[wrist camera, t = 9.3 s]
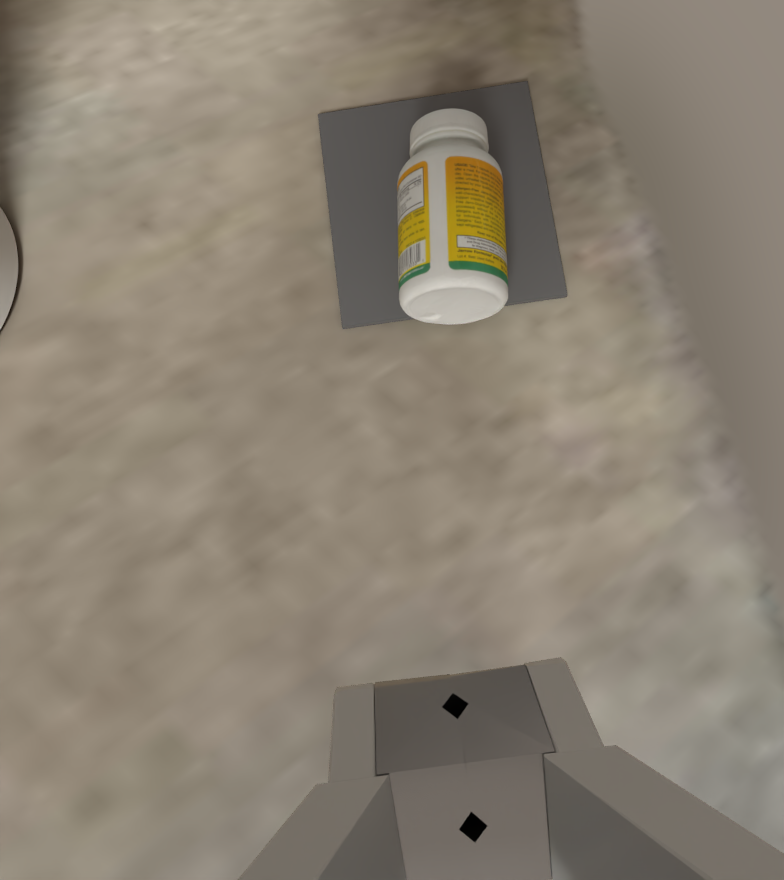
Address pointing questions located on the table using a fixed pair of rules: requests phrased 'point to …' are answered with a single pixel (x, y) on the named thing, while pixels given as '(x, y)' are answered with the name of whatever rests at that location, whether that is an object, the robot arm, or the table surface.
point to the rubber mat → (375, 197)
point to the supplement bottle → (451, 222)
